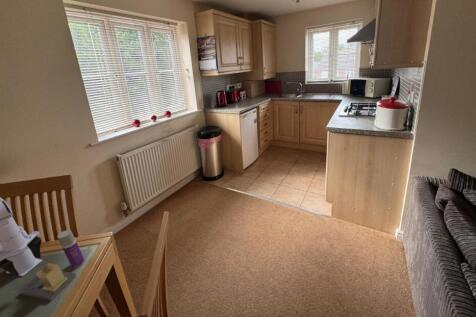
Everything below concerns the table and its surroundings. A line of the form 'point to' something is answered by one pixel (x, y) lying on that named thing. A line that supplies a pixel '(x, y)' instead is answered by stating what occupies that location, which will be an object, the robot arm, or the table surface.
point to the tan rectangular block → (51, 276)
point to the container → (71, 248)
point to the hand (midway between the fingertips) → (27, 265)
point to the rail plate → (45, 292)
